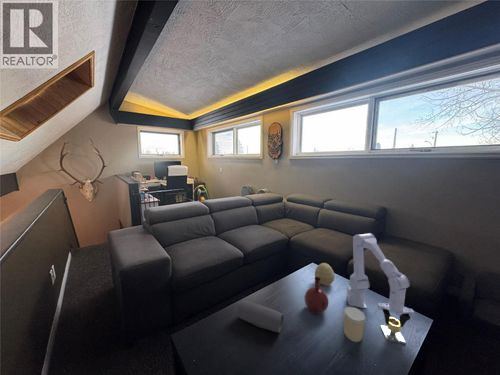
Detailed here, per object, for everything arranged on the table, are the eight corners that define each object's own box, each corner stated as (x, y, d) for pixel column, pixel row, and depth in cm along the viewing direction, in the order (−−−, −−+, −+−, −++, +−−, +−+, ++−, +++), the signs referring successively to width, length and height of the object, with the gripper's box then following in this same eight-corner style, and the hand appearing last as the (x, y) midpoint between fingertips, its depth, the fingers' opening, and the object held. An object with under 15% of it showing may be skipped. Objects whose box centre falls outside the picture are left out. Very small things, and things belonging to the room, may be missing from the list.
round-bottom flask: (302, 315, 110) (304, 282, 107) (305, 299, 123) (306, 270, 120) (327, 322, 106) (329, 288, 103) (327, 305, 118) (330, 274, 115)
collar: (389, 331, 96) (389, 325, 95) (384, 322, 101) (385, 316, 100) (402, 333, 94) (403, 327, 94) (397, 324, 99) (397, 318, 99)
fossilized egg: (331, 292, 129) (333, 271, 127) (312, 285, 136) (313, 265, 134) (335, 282, 140) (336, 262, 138) (317, 276, 147) (318, 257, 144)
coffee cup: (361, 329, 101) (363, 308, 99) (365, 346, 92) (367, 323, 91) (341, 324, 104) (343, 304, 102) (343, 340, 95) (345, 318, 94)
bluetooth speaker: (283, 325, 104) (283, 308, 102) (278, 340, 95) (278, 321, 94) (244, 311, 113) (244, 295, 112) (237, 323, 105) (236, 306, 103)
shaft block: (386, 340, 95) (387, 332, 95) (380, 326, 103) (381, 319, 102) (405, 344, 93) (406, 335, 93) (397, 330, 101) (398, 322, 100)
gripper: (382, 302, 93) (380, 327, 95) (419, 308, 89) (415, 334, 91) (377, 292, 100) (375, 316, 102) (411, 297, 96) (407, 322, 98)
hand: (393, 324), depth 97 cm, fingers closed on collar, 5 cm apart
